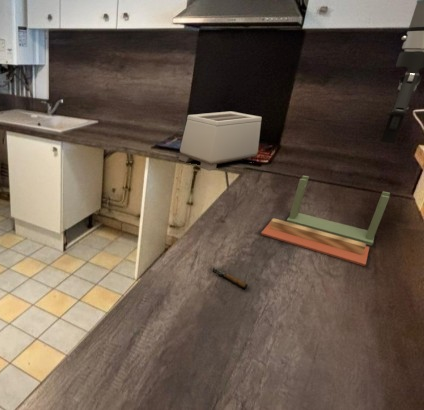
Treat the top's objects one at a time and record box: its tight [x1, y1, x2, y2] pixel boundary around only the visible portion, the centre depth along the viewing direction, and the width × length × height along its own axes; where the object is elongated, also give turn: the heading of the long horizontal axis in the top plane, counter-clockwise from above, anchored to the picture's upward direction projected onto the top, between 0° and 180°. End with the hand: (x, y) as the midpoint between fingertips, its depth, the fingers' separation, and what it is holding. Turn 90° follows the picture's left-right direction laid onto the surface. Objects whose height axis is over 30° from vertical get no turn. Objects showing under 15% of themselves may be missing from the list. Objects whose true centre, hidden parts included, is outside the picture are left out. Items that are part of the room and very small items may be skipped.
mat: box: [260, 221, 370, 267], centre depth 97 cm, size 24×11×1 cm, turn 50°
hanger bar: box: [269, 217, 367, 255], centre depth 97 cm, size 22×2×2 cm, turn 50°
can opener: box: [212, 266, 249, 289], centre depth 80 cm, size 9×2×1 cm, turn 29°
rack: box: [285, 175, 391, 247], centre depth 102 cm, size 21×8×14 cm, turn 50°
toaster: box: [177, 111, 263, 172], centre depth 164 cm, size 19×34×21 cm, turn 119°
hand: (388, 137), depth 95 cm, fingers open, 13 cm apart
